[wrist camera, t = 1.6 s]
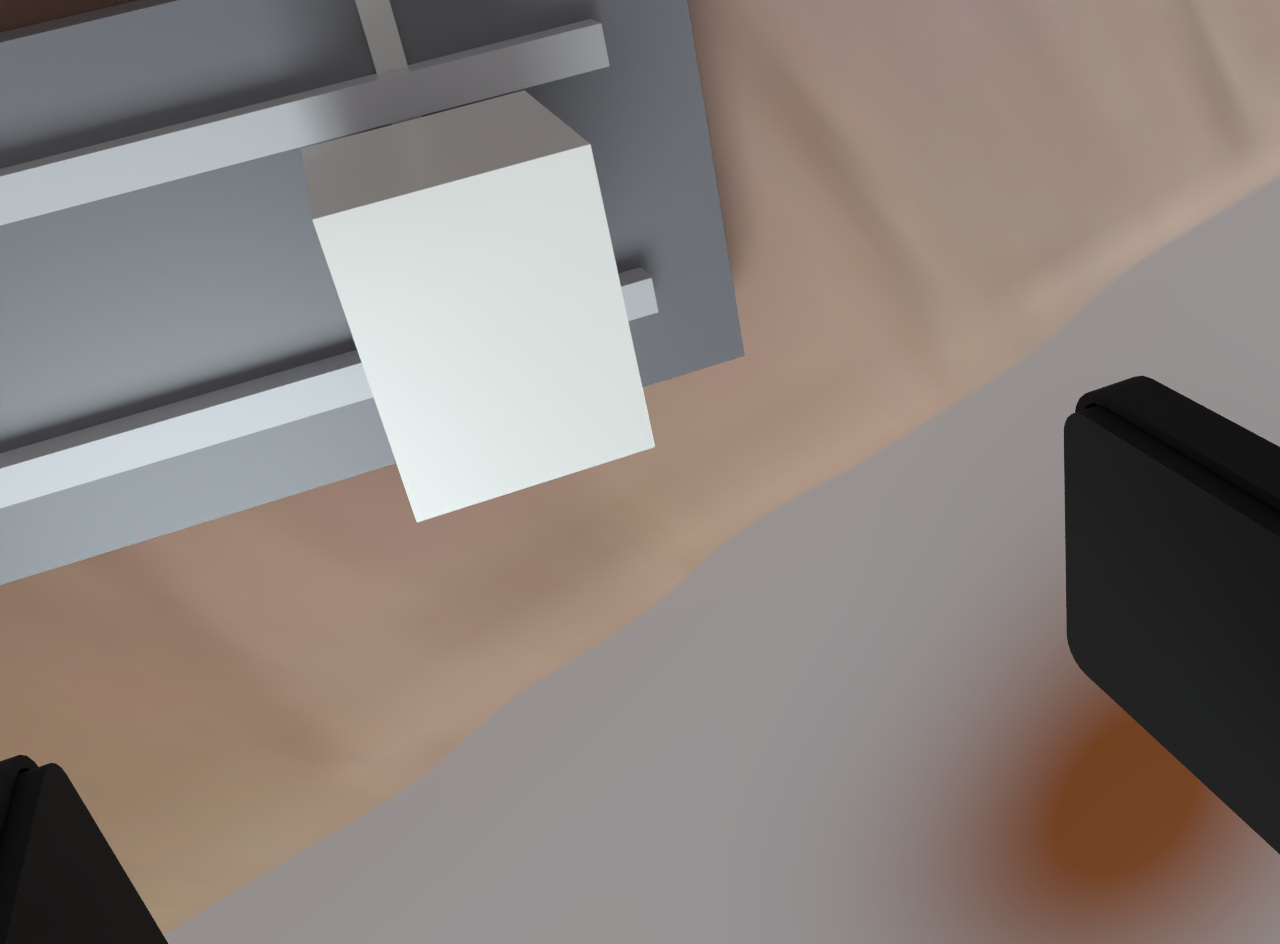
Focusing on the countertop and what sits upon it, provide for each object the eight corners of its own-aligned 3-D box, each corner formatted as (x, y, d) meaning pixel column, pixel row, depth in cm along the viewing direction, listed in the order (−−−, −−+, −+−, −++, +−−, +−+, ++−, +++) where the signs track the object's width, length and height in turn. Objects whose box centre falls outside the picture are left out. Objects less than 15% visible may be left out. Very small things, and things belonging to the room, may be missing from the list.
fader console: (632, -118, 24) (681, -117, 21) (709, 320, 29) (757, 368, 26) (-911, 247, 20) (-1105, 309, 17) (-510, 688, 25) (-609, 791, 22)
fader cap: (501, 72, 22) (590, 144, 16) (559, 309, 25) (655, 446, 19) (297, 125, 22) (312, 219, 16) (378, 362, 24) (416, 522, 18)
